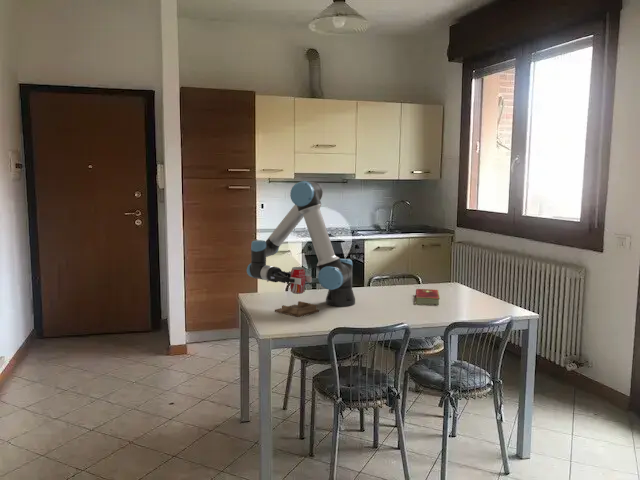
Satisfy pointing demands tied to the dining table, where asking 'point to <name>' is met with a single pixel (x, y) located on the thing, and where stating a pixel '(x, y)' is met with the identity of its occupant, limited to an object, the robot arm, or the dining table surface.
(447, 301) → the dining table surface
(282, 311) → the keeper cradle
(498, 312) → the dining table surface
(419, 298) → the hardcover book
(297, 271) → the soda can
